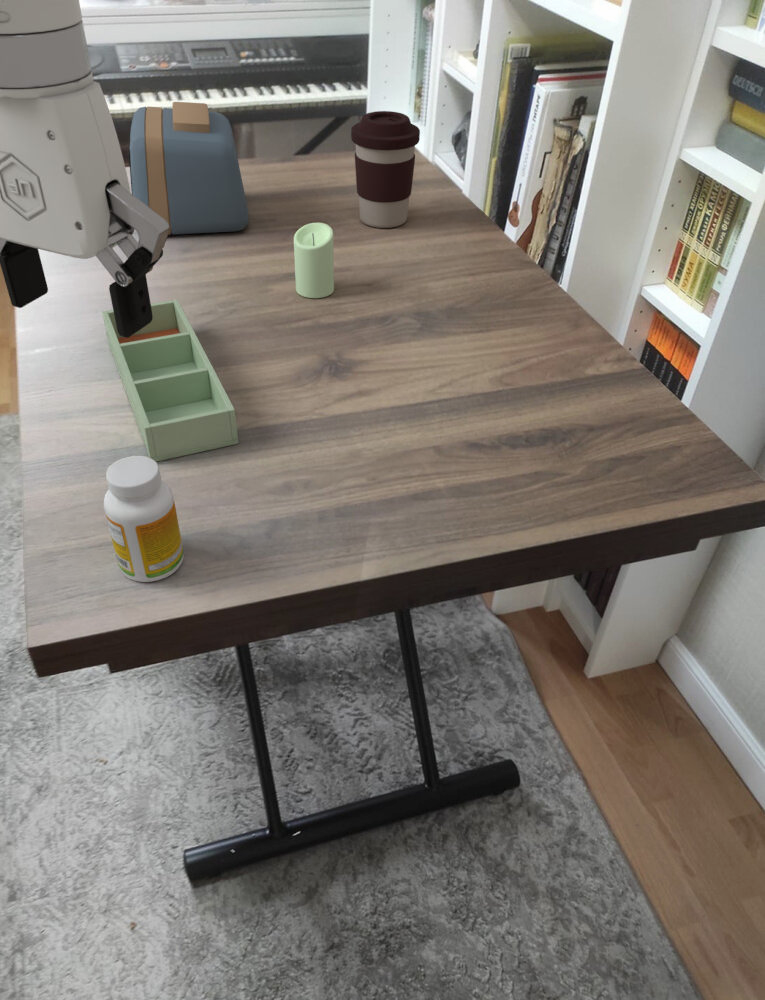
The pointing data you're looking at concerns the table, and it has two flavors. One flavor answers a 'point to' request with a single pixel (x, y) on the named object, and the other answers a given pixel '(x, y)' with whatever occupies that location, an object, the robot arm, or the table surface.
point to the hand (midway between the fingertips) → (82, 314)
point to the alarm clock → (187, 168)
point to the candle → (314, 260)
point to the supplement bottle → (142, 520)
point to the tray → (172, 385)
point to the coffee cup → (384, 166)
